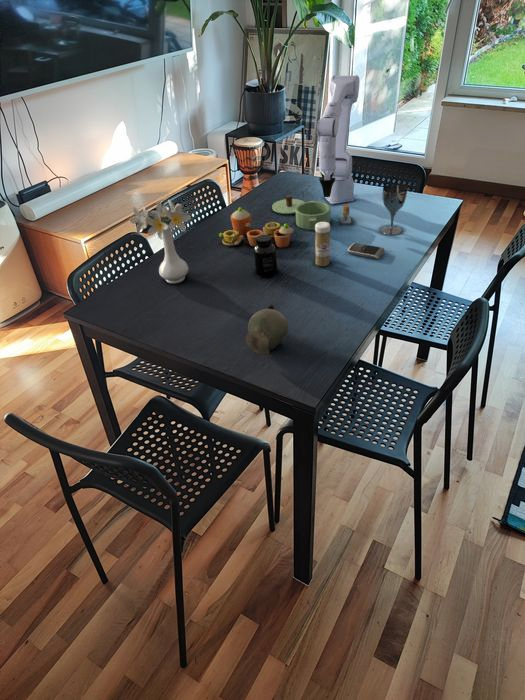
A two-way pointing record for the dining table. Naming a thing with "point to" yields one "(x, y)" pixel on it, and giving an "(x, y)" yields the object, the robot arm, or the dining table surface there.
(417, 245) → the dining table surface
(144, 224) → the flower vase
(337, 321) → the dining table surface
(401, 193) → the wine glass
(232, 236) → the toy tea set
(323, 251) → the sprinkles bottle
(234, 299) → the dining table surface
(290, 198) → the pot lid
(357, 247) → the cell phone
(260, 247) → the supplement bottle
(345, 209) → the masher
